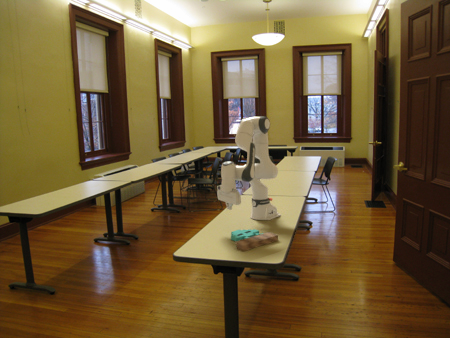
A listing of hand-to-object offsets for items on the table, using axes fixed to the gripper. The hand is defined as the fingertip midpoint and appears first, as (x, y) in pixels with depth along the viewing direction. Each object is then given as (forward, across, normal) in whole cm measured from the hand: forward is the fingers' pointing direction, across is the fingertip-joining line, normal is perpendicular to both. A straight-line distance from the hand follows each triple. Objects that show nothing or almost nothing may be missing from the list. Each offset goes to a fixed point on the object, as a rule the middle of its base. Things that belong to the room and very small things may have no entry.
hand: (229, 209), depth 229 cm
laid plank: (+14, -29, +2) cm, 33 cm away
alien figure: (+15, -15, -1) cm, 21 cm away
